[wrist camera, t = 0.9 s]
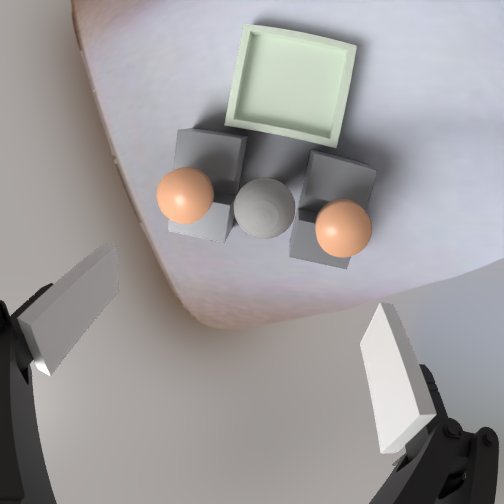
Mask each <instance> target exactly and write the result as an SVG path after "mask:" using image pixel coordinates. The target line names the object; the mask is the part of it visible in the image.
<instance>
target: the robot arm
mask: <svg viewBox="0 0 504 504" xmlns="http://www.w3.org/2000/svg"><path fill="white" fill-rule="evenodd" d="M118 292H119V280H118V266H117V246H116V245H112V244H108V243H103V244H102V245H101V246H99V247H98V248H97V249H96V250H94V251H93V252H92V253H91V254H90V255H88V256H87V257H86V258H84V259H83V260H82V261H81V262H80V263H78V264H77V265H76V266H75V267H74V268H73V269H71V270H70V271H69V272H68V273H67V274H65V275H64V276H63V277H62V278H61V279H59V280H58V281H57V282H56V283H55V284H52V283H50V284H48V285H46V286H44V287H42V288H41V289H40V290H38V291H37V292H36V293H35V295H33V296H32V297H31V298H29V300H27V301H26V302H25V303H24V304H23V305H22V306H21V307H20V308H18V309H17V310H16V311H15V312H14V313H13V314H12V315H11V316H9V313H8V310H7V307H6V304H5V303H4V302H3V301H2V300H0V504H57V503H56V500H55V497H54V494H53V491H52V488H51V484H50V481H49V477H48V473H47V470H46V465H45V462H44V457H43V453H42V448H41V443H40V438H39V432H38V426H37V420H36V413H35V405H34V396H33V385H32V371H31V367H30V363H31V362H32V361H33V360H34V362H35V364H36V366H37V368H38V369H39V370H40V371H42V372H44V373H46V374H48V375H50V376H51V375H52V374H53V372H54V371H55V370H56V368H57V367H58V366H59V365H60V363H61V362H62V360H63V359H64V358H65V357H66V355H67V354H68V353H69V352H70V350H71V349H72V348H73V346H74V345H75V344H76V343H77V341H78V340H79V339H80V338H81V336H82V335H83V334H84V333H85V332H86V330H87V329H88V328H89V327H90V325H91V324H92V323H93V322H94V320H95V319H96V318H97V317H98V316H99V315H100V313H101V312H102V311H103V310H104V308H105V307H106V306H107V305H108V304H109V303H110V301H111V300H112V299H113V298H114V297H115V296H116V295H117V294H118ZM360 347H361V351H362V355H363V360H364V364H365V369H366V373H367V378H368V383H369V388H370V393H371V398H372V403H373V409H374V414H375V420H376V426H377V432H378V439H379V445H380V452H381V454H382V453H397V452H398V451H399V450H400V449H401V448H403V447H404V446H405V447H406V453H405V454H404V455H403V456H402V457H400V458H399V459H398V460H397V461H396V462H395V463H394V464H393V466H395V465H396V464H397V463H398V464H397V466H396V467H395V468H394V470H393V471H392V473H391V474H390V476H389V477H388V479H387V480H386V482H385V483H384V484H383V486H382V487H381V488H380V490H379V491H378V492H377V494H376V495H375V496H374V498H373V499H372V500H371V502H370V503H369V504H494V502H495V494H496V485H497V474H498V456H499V441H498V437H497V435H496V433H495V432H494V431H493V430H492V429H491V428H489V427H483V428H481V429H480V430H479V431H478V432H476V433H475V434H474V433H469V432H465V431H463V429H462V427H461V426H460V424H459V423H458V422H457V421H456V420H454V419H452V418H448V416H447V413H446V410H445V407H444V405H443V402H442V399H441V396H440V393H439V392H438V388H437V386H436V384H435V380H434V378H433V375H432V373H431V372H430V371H429V369H428V368H427V367H426V366H425V365H422V364H421V365H420V364H418V361H417V358H416V356H415V353H414V351H413V348H412V346H411V344H410V341H409V338H408V336H407V334H406V332H405V329H404V327H403V325H402V322H401V320H400V318H399V316H398V313H397V311H396V309H395V307H394V305H393V304H388V303H383V302H380V304H379V306H378V308H377V310H376V312H375V314H374V316H373V318H372V321H371V323H370V325H369V327H368V329H367V331H366V333H365V335H364V337H363V339H362V341H361V343H360ZM465 475H466V478H465Z"/></svg>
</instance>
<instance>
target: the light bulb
mask: <svg viewBox="0 0 504 504" xmlns="http://www.w3.org/2000/svg"><path fill="white" fill-rule="evenodd" d="M234 214H235V218H236V220H237V222H238V224H239V226H240V227H241V228H242V229H243V230H244V231H245V232H246V233H247V234H249V235H251V236H253V237H256V238H260V239H269V238H273V237H276V236H278V235H280V234H282V233H283V232H285V231H286V230H287V229H288V228H289V226H290V225H291V223H292V221H293V219H294V215H295V201H294V198H293V195H292V193H291V192H290V190H289V189H288V188H287V187H286V186H285V185H284V184H283V183H281V182H279V181H277V180H275V179H272V178H257V179H254V180H251V181H249V182H248V183H246V184H245V185H244V186H243V187H242V188H241V189H240V191H239V192H238V194H237V196H236V199H235V202H234Z"/></svg>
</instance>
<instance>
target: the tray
mask: <svg viewBox="0 0 504 504" xmlns="http://www.w3.org/2000/svg"><path fill="white" fill-rule="evenodd" d="M356 48H357V46H355V45H352V44H349V43H345V42H341V41H338V40H334V39H330V38H326V37H322V36H317V35H313V34H308V33H303V32H298V31H293V30H287V29H281V28H274V27H267V26H260V25H251V24H244V26H243V31H242V35H241V40H240V45H239V50H238V55H237V60H236V65H235V70H234V75H233V80H232V85H231V91H230V96H229V102H228V107H227V113H226V119H225V125H224V126H231V127H237V128H243V129H249V130H255V131H260V132H266V133H271V134H276V135H281V136H286V137H291V138H295V139H300V140H304V141H308V142H313V143H317V144H321V145H325V146H329V147H333V148H337V143H338V139H339V135H340V130H341V125H342V121H343V116H344V111H345V107H346V102H347V97H348V92H349V87H350V82H351V76H352V71H353V65H354V60H355V54H356Z"/></svg>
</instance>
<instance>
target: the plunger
mask: <svg viewBox="0 0 504 504" xmlns="http://www.w3.org/2000/svg"><path fill="white" fill-rule="evenodd" d="M213 199H214V190H213V186H212V183H211V181H210V179H209V178H208V177H207V175H206V174H204V173H203V172H202V171H200V170H199V169H196V168H193V167H181V168H178V169H176V170H174V171H172V172H170V173H168V174H167V175H165V176H164V177H163V179H162V180H161V181H160V183H159V186H158V189H157V201H158V204H159V207H160V209H161V211H162V212H163V213H164V214H165V216H167V217H168V218H169V219H170V220H172V221H174V222H176V223H180V224H190V223H194V222H196V221H198V220H199V219H201V218H202V217H203V216H204V215H205V214H206V212H207V211H208V210H209V209H210V207H211V205H212V203H213Z"/></svg>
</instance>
